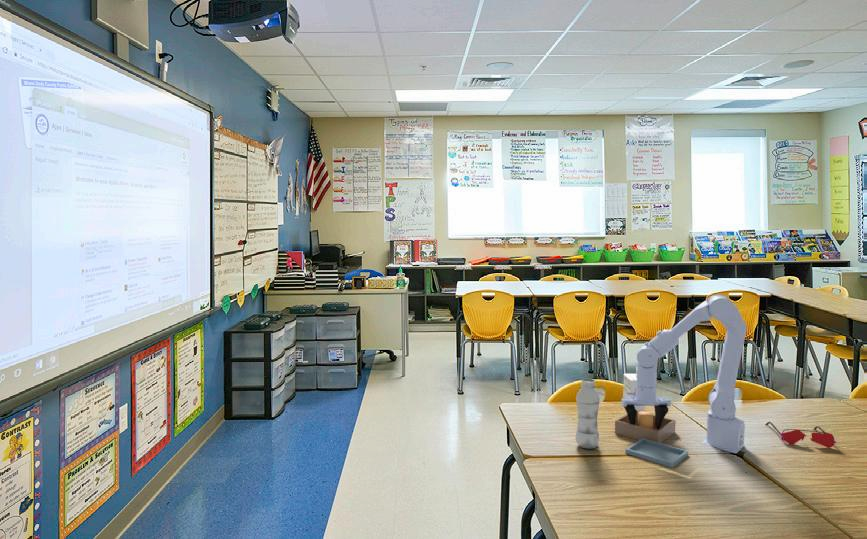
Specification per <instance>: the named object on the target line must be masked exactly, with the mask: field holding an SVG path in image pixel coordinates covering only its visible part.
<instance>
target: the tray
mask: <svg viewBox="0 0 867 539" xmlns="http://www.w3.org/2000/svg"><path fill="white" fill-rule="evenodd" d="M625 454H626V455H629V456H633V457H636V458H639V459H642V460H645V461H650V462H652V463H655V464H658V465H662V466H664V467H668V468H670V469H673V468H674V467H676V466H677V465H679V464H680V462H682V461H683V460H684V459H685V458H687V457H688V456H689V450H686V449H682V448H679V447H676V446H672V445H668V444H665V443H663V442H661V443H658V442H655V441H651V440H648V439H644V438H642V439H640V440H637V441H636V442H634V443H633V444H630V446H628V447H627V448H625Z"/></svg>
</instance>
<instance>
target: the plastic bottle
mask: <svg viewBox="0 0 867 539" xmlns="http://www.w3.org/2000/svg"><path fill="white" fill-rule="evenodd" d="M580 386H581V388H580V389H579V390H578V392H577V393H576V397H575V399H576V408H577V427H576V428H577V429H576V432H575V441H576V444H577V446H578V447H580V448H583V449H587V450H592V449H597V447H598V446H599V444H600V443H599V442H600V434H599V428H598V425H599V424H598V414H599V413H598V412H599V408H600V407H599V406H600V395H599V393H598V392H597V391H596V390H595V389H596V380H595V379H592V378H588V377H587V378H582V379H581V385H580Z"/></svg>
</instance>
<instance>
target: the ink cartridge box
mask: <svg viewBox="0 0 867 539" xmlns="http://www.w3.org/2000/svg"><path fill="white" fill-rule="evenodd" d="M637 369H638V368H637V365H635V371H636V372H635V373H623V387H622V388H623V389H622V391H623V393H622V398H632V397H636V382H637ZM634 407H635V409H636V410H637V411H640V412H642V411H644V412H645V406H634Z"/></svg>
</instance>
